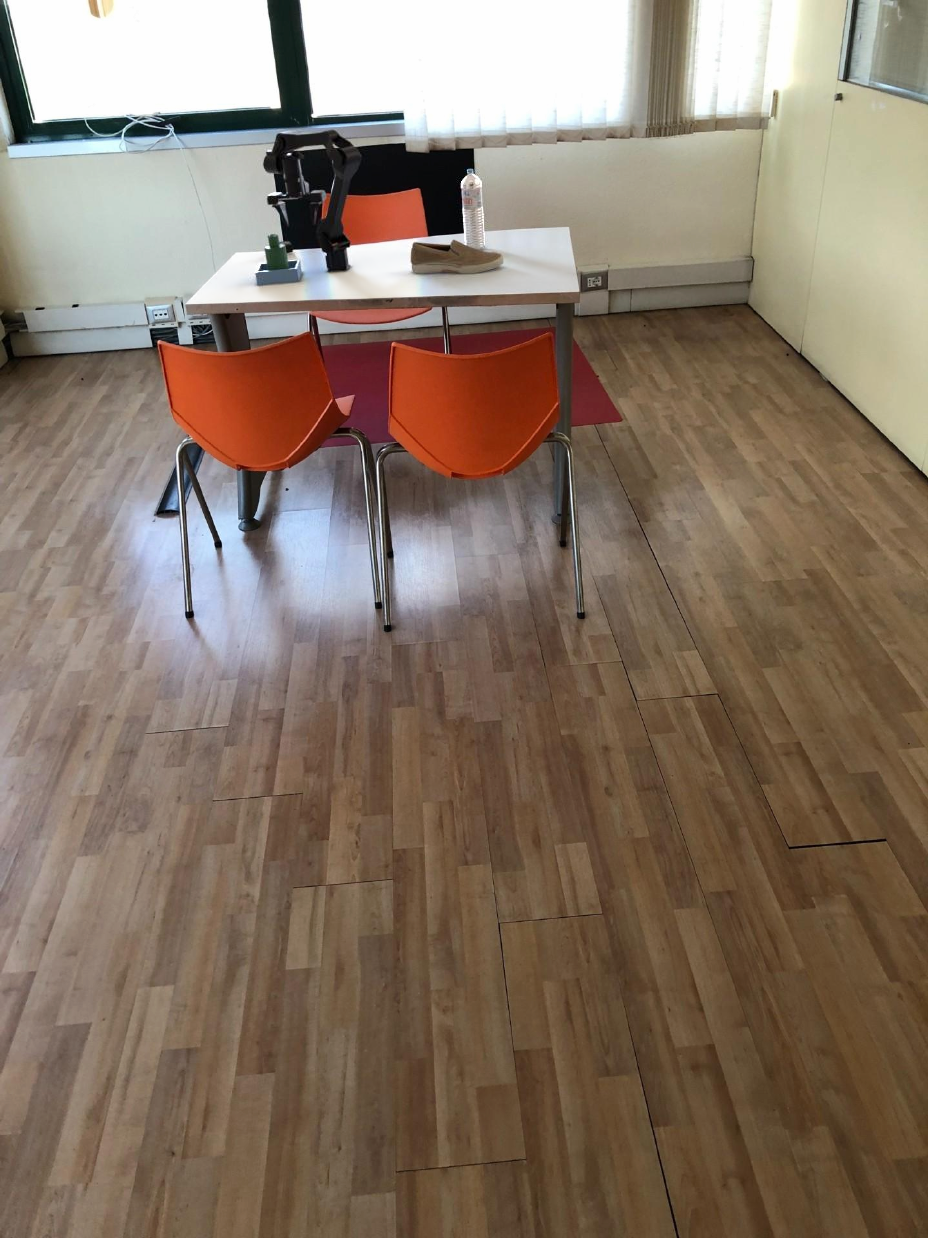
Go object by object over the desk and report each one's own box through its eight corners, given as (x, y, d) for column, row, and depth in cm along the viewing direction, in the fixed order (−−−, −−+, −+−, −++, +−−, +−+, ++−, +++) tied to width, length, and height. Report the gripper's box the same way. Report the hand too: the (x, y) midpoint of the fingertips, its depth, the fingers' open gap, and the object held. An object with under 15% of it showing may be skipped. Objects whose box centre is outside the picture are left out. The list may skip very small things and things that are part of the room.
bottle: (287, 273, 316) (280, 231, 309) (292, 277, 311) (285, 234, 304) (267, 276, 315) (260, 234, 307) (272, 280, 309) (264, 238, 302)
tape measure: (274, 256, 341) (273, 245, 339) (272, 253, 347) (270, 242, 344) (294, 254, 342) (292, 243, 340) (291, 250, 348) (289, 239, 346)
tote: (301, 272, 318) (299, 259, 316) (299, 281, 308) (296, 268, 306) (261, 275, 318) (259, 263, 316) (257, 285, 308) (255, 272, 306)
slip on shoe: (505, 263, 307) (504, 234, 303) (500, 272, 298) (498, 242, 293) (417, 266, 314) (414, 237, 309) (408, 275, 304) (405, 245, 300)
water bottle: (462, 248, 330) (456, 169, 316) (479, 245, 332) (475, 166, 319) (470, 252, 325) (465, 171, 311) (488, 248, 327) (484, 168, 313)
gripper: (327, 168, 316) (334, 218, 324) (272, 171, 318) (281, 221, 327) (318, 174, 306) (325, 225, 315) (262, 177, 309) (271, 228, 318)
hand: (300, 225), depth 319 cm, fingers open, 9 cm apart
